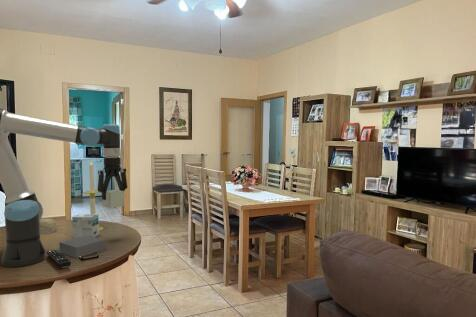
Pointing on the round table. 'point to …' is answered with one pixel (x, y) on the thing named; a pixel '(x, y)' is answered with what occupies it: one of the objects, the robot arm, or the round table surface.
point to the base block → (82, 246)
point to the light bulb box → (85, 225)
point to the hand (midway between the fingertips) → (113, 205)
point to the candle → (92, 191)
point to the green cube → (115, 198)
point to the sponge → (47, 226)
